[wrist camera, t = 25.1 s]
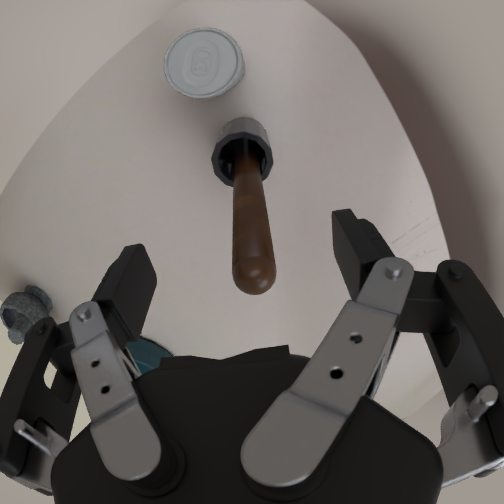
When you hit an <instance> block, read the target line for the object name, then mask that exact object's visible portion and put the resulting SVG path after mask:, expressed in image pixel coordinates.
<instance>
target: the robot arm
mask: <svg viewBox="0 0 504 504" xmlns="http://www.w3.org/2000/svg"><path fill="white" fill-rule="evenodd" d="M332 234H333V249H334V255H335V258H336V261H337V263H338V266H339V268H340V271H341V273H342V276H343V278H344V281H345V283H346V286H347V289H348V291H349V294H350V296H351V299H352V300H348V301H347V302H346V304H345V305H344V307H343V308H342V310H341V312H340V313H339V315H338V317H337V318H336V320H335V322H334V323H333V325H332V326H331V328H330V330H329V331H328V333H327V334H326V336H325V338H324V339H323V341H322V342H321V344H320V345H319V347H318V348H317V350H316V351H315V353H314V354H313V356H312V357H311V358H309V357H305V356H301V355H293V354H290V353H289V346H288V345H283V346H276V347H268V348H261V349H254V350H251V351H248V352H245V353H242V354H239V355H236V356H233V357H229V358H226V359H222V360H217V359H210V358H203V357H196V356H175V357H161V360H160V365H159V367H157V368H154V369H152V370H149V371H147V372H145V373H143V374H141V372H140V370H139V369H138V367H137V365H136V363H135V361H134V359H133V358H132V356H131V354H130V352H129V350H128V349H127V347H126V344H127V342H138V341H139V338H140V334H141V331H142V328H143V325H144V322H145V318H146V315H147V312H148V309H149V306H150V303H151V300H152V297H153V294H154V291H155V288H156V285H157V277H156V273H155V270H154V268H153V266H152V263H151V261H150V259H149V256H148V254H147V252H146V249H145V247H144V246H143V245H142V244H135V245H130V246H126V247H124V249H123V251H122V252H121V254H120V256H119V258H118V259H117V260H116V261H115V262H114V263H113V264H112V265H111V266H110V267H109V268H108V270H107V272H106V274H105V276H104V277H103V279H102V282H101V283H100V285H99V286H98V288H97V290H96V292H95V294H94V296H93V298H92V300H91V301H88V302H85V303H82V304H81V305H79V306H78V307H76V308H75V309H74V310H73V312H72V313H71V315H70V317H69V321H67V322H65V323H62V324H59V325H57V323H56V322H55V321H54V319H53V318H52V317H44V318H42V319H40V320H39V321H37V322H36V323H35V324H34V325H33V327H32V328H31V330H30V332H29V334H28V336H27V338H26V340H25V342H24V344H23V346H22V348H21V350H20V352H19V354H18V357H17V359H16V361H15V363H14V365H13V368H12V370H11V372H10V375H9V377H8V379H7V382H6V384H5V387H4V389H3V392H2V395H1V397H0V471H1V472H2V473H4V474H5V475H6V476H7V477H9V478H11V479H13V480H15V481H17V482H18V483H20V484H22V485H24V486H26V487H28V488H30V489H34V490H36V491H38V492H40V493H43V494H45V495H47V496H52V495H53V496H54V501H55V504H436V502H437V499H438V496H439V493H440V490H441V489H442V488H444V487H447V486H450V485H452V484H455V483H457V482H460V481H462V480H465V479H467V478H469V477H471V476H474V477H479V478H480V477H485V476H487V475H489V474H491V473H493V472H495V471H496V470H498V469H499V468H501V467H503V466H504V318H503V316H502V314H501V313H500V311H499V310H498V308H497V307H496V305H495V303H494V302H493V300H492V298H491V297H490V295H489V294H488V292H487V291H486V290H485V288H484V286H483V285H482V283H481V282H480V280H479V279H478V278H477V276H476V275H475V273H474V272H473V271H472V269H471V268H470V267H469V266H468V265H466V264H465V263H463V262H461V261H457V260H445V261H442V262H441V263H440V264H439V265H438V267H437V271H436V272H419V271H414V268H413V266H412V265H411V264H410V263H409V262H408V261H406V260H404V259H401V258H398V257H395V255H394V254H393V252H392V251H391V249H390V248H389V246H388V245H387V243H386V242H385V240H384V239H383V238H382V236H381V234H380V233H379V232H378V230H377V229H376V227H375V226H374V224H372V223H371V222H369V221H368V220H366V219H357V218H356V216H355V215H354V213H353V212H352V210H351V209H343V210H336V211H332ZM401 332H413V333H423V335H424V338H425V340H426V342H427V345H428V348H429V350H430V353H431V355H432V358H433V360H434V363H435V366H436V369H437V371H438V374H439V377H440V380H441V383H442V386H443V388H444V391H445V394H446V398H447V401H448V404H449V406H450V409H449V410H448V411H447V413H446V414H445V415H444V417H443V419H442V422H441V442H440V445H439V447H437V448H436V447H435V445H434V444H433V443H432V442H431V441H430V440H429V439H428V438H427V437H425V436H424V435H422V434H421V433H420V432H418V431H417V430H415V429H414V428H412V427H411V426H409V425H408V424H407V423H405V422H404V421H402V420H401V419H399V418H398V417H397V416H395V415H394V414H392V413H391V412H389V411H388V410H387V409H385V408H384V407H382V406H381V405H380V404H378V403H377V402H375V401H374V400H373V399H374V396H375V394H376V392H377V390H378V388H379V385H380V383H381V380H382V378H383V375H384V373H385V370H386V368H387V365H388V363H389V361H390V358H391V356H392V354H393V351H394V349H395V346H396V344H397V341H398V339H399V336H400V334H401ZM49 361H50V362H51V363H52V365H53V366H54V367H55V368H56V369H57V372H56V375H55V378H54V380H53V383H52V386H51V389H49V388H48V387H47V386H46V384H45V382H44V373H45V370H46V368H47V365H48V362H49ZM81 392H82V395H83V398H84V401H85V404H86V407H87V410H88V413H89V415H90V418H91V422H90V423H89V424H88V425H87V427H85V428H84V429H83V430H82V431H81V432H80V433H79V434H78V435H77V436H76V437H75V438H74V439H73V440H72V441H71V442H70V443H69V440H70V435H71V430H72V427H73V422H74V418H75V414H76V410H77V407H78V403H79V399H80V395H81Z"/></svg>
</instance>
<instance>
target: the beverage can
mask: <svg viewBox="0 0 504 504" xmlns="http://www.w3.org/2000/svg"><path fill="white" fill-rule="evenodd" d="M164 71H165V75H166V78H167V80H168V81H169V83H170V85H171V86H172V87H173V88H174V89H175V90H176V91H178V92H179V93H181V94H183V95H185V96H187V97H190V98H194V99H209V98H213V97H217V96H219V95H221V94H223V93H225V92H227V91H228V90H230V89H231V88H232V87H234V86H235V85H236V84H237V83H239V82H240V80H241V79H242V77H243V75H244V72H245V63H244V60H243V56H242V51H241V49H240V47H239V45H238V44H237V42H236V41H235V40H234V39H233V38H232V37H231V36H230V35H229V34H227V33H225V32H223V31H221V30H218V29H214V28H197V29H194V30H190V31H187V32H185V33H184V34H182V35H180V36H179V37H178V38H177V39H176V40H174V41H173V42H172V44H171V45H170V47H169V48H168V50H167V52H166V55H165V59H164Z"/></svg>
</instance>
